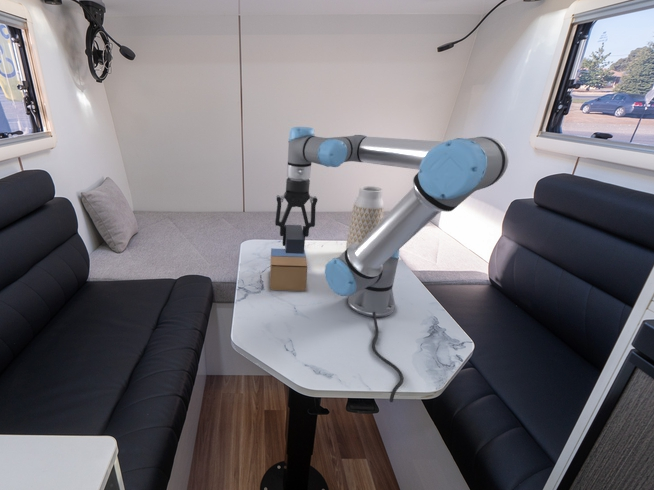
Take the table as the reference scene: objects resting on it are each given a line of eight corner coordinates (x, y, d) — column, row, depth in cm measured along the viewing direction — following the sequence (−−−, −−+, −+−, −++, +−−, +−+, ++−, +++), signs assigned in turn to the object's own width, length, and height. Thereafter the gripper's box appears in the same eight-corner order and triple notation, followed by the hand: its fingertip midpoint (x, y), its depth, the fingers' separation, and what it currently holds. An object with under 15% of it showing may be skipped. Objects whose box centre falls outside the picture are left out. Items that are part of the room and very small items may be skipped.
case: (303, 253, 124) (304, 239, 122) (285, 253, 124) (286, 239, 122) (300, 238, 136) (301, 225, 134) (283, 237, 136) (284, 224, 134)
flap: (271, 249, 145) (271, 248, 145) (304, 250, 144) (304, 249, 144) (271, 256, 138) (271, 255, 138) (305, 257, 138) (305, 256, 138)
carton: (270, 271, 149) (271, 248, 145) (302, 272, 149) (304, 249, 144) (269, 289, 136) (270, 264, 131) (305, 291, 135) (307, 265, 131)
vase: (356, 266, 155) (367, 193, 142) (338, 254, 166) (347, 185, 153) (383, 262, 160) (396, 191, 146) (364, 250, 171) (374, 183, 158)
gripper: (268, 180, 116) (266, 248, 127) (329, 182, 116) (321, 249, 127) (268, 174, 123) (266, 239, 133) (326, 176, 123) (319, 241, 133)
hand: (293, 244), depth 130 cm, fingers closed on case, 6 cm apart
